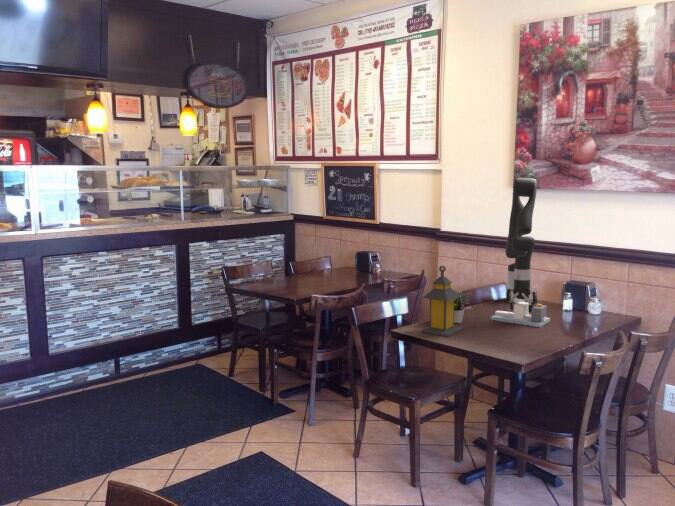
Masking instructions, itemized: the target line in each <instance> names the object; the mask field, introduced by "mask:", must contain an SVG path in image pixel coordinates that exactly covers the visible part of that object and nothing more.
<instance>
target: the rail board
mask: <svg viewBox="0 0 675 506" xmlns="http://www.w3.org/2000/svg"><path fill="white" fill-rule="evenodd" d="M547 313H548V305H544V304H542V303H536V304H535V305H533V307H532V311H531V313H530V314H529V315H527V314H526V315H524V320H519V319H514V311H513V312H511V311H504V310H495V311H494V315H492V316H490V321H494V320H495V322H501V323H507V322H508V323H509V324H514V323H515V324H516V325H521V324H522V325H523V326H527V325H529V327H536V328H542V327H543V326H544V325H546V324H548V323H550V322H551V317H548V316H547V315H548V314H547ZM508 323H507V324H508ZM522 325H521V326H522Z"/></svg>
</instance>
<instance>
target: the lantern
mask: <svg viewBox="0 0 675 506" xmlns="http://www.w3.org/2000/svg"><path fill="white" fill-rule="evenodd" d="M438 269H439V272H440V276H438V278H437V279H435V281H433V282H432V284H433V288H432V289H431V290H430V291H429V292H427V293H426V294H425V295H424V296H422V298H423V299H428V300H429V326H427V327H425V328H422V329H421V333H424V334H429V335H435V336H439V337H440V336H441V337H446V338H447V337H451V336H454V335H455V333H456V334H458V333H460V332H462V331H463V328H462V327H459V326H455V323H454V300H455V299H457V298H459V297H463V296H462V295H459V292H457V291H456V292H455V289H453V288H452V287H451V284H453V282H452V281H451V280H449V279H448V277H446V276H445V272H446V266H445V265H441V266H439V267H438ZM461 330H462V331H461ZM459 331H460V332H459ZM457 332H458V333H457ZM453 334H454V335H453Z"/></svg>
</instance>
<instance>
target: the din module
mask: <svg viewBox="0 0 675 506" xmlns="http://www.w3.org/2000/svg"><path fill="white" fill-rule="evenodd" d="M528 310H529V304H528V302H527V301H526V302H519V303H514V310H513V313H514V319H519V320H524V315H526V314H527V315H530V313H529V312H528Z"/></svg>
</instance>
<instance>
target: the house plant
mask: <svg viewBox="0 0 675 506" xmlns="http://www.w3.org/2000/svg"><path fill="white" fill-rule="evenodd" d="M454 291H455V292H457V289H456V288H454ZM463 291H464V290H462V289H460V290H459V292H458V294H459V295H461V296H462V295H463ZM471 293H472V291H470V292H468V293H465V294H464V295H463V296H462V297H459V298H457V299H454V324H460V323H463V318H464V313H465V308H463V307H462V306H463V305H466V304H468V305H469V302H467V301H469V300H470V299H465V298H467V297H468V296H470V294H471ZM464 299H465V300H464Z"/></svg>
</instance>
